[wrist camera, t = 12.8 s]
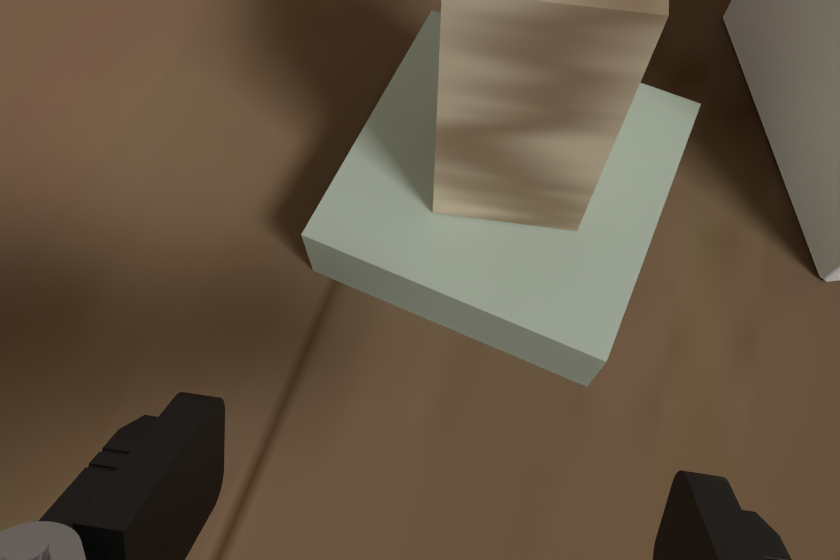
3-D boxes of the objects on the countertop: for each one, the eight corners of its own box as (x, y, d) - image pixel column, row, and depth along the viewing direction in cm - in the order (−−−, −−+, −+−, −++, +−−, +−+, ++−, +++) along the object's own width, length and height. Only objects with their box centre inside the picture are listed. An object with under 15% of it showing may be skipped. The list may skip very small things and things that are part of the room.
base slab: (314, 275, 28) (301, 234, 25) (430, 68, 32) (431, 10, 29) (583, 390, 26) (606, 361, 23) (671, 155, 31) (701, 103, 27)
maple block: (432, 212, 25) (442, -10, 16) (451, 97, 27) (468, -159, 18) (576, 231, 25) (668, 15, 16) (584, 113, 27) (670, -138, 18)
